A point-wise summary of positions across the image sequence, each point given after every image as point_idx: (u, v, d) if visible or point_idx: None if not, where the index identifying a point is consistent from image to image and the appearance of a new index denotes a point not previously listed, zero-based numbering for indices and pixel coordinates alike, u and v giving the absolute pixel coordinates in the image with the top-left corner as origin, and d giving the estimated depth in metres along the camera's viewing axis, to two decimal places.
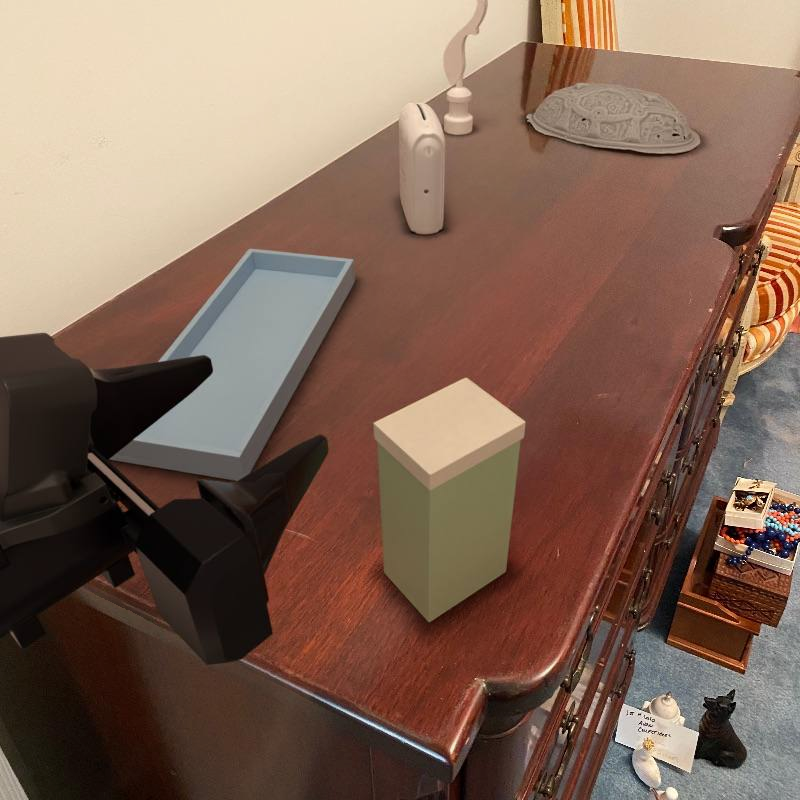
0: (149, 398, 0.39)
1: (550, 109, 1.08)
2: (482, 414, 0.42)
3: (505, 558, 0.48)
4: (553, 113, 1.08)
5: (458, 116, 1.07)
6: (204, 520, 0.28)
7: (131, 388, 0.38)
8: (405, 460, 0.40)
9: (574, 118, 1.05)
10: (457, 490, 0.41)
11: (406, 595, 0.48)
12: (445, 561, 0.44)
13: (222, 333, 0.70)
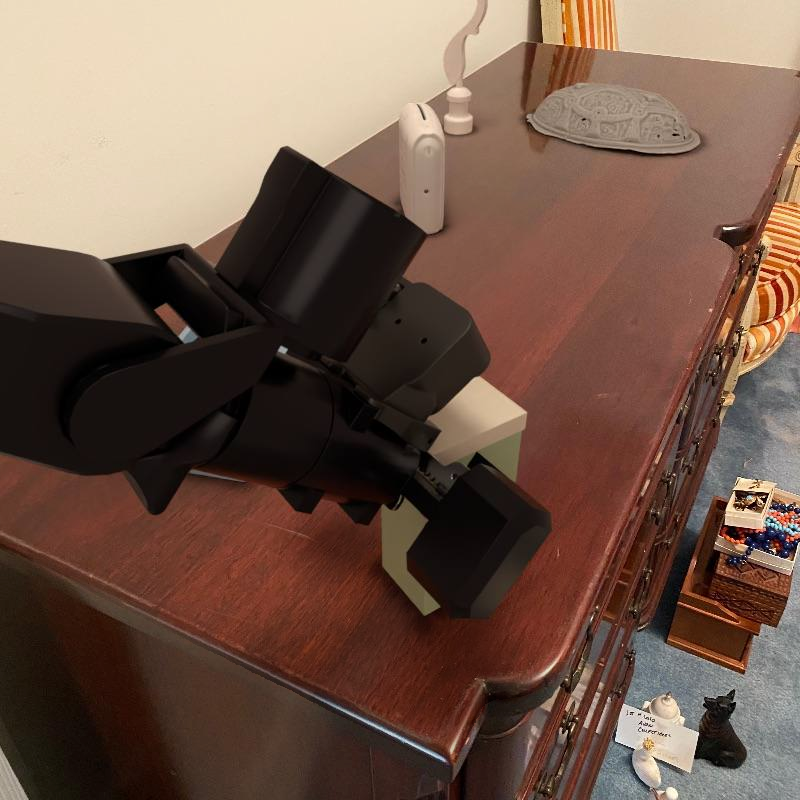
0: None
1: (550, 109, 1.08)
2: (484, 403, 0.42)
3: None
4: (553, 113, 1.08)
5: (458, 116, 1.07)
6: (519, 489, 0.34)
7: None
8: None
9: (574, 118, 1.05)
10: None
11: (403, 588, 0.48)
12: None
13: None
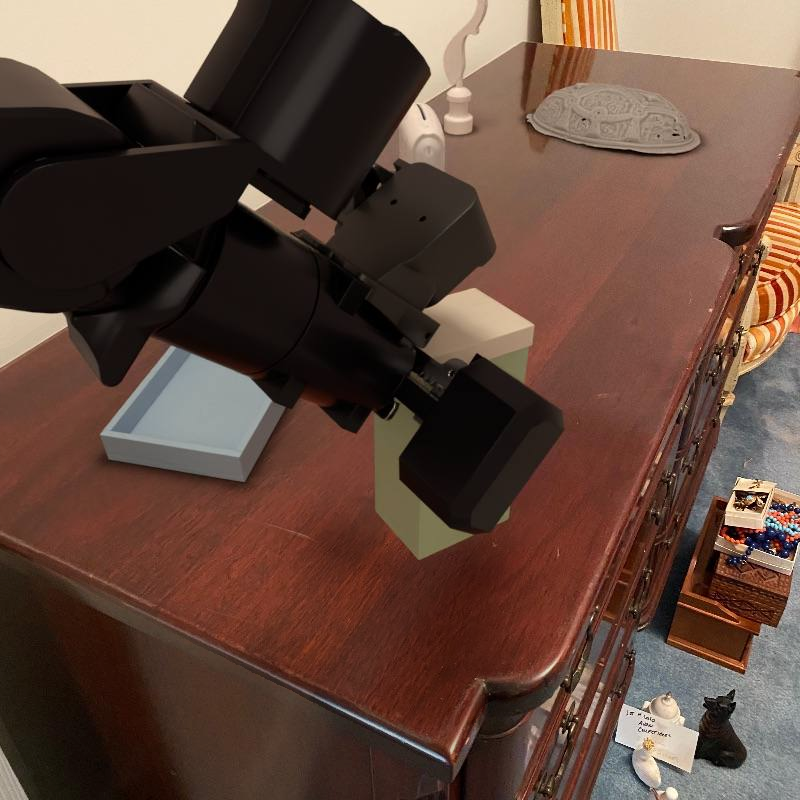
0: None
1: (550, 109, 1.08)
2: (488, 316, 0.38)
3: None
4: (553, 113, 1.08)
5: (458, 116, 1.07)
6: (527, 386, 0.31)
7: None
8: None
9: (574, 118, 1.05)
10: None
11: (396, 532, 0.43)
12: None
13: None
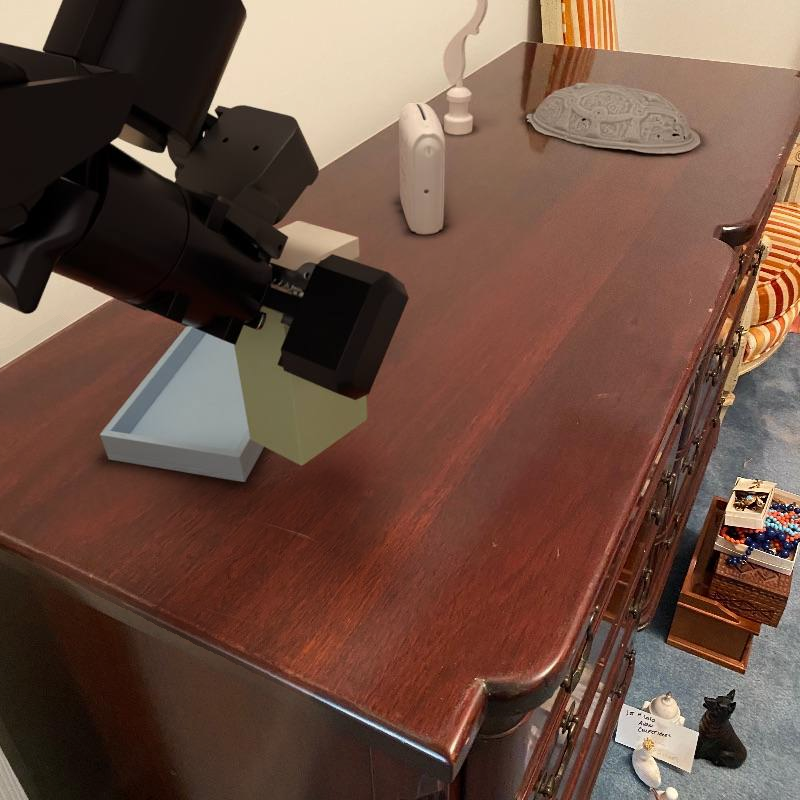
0: None
1: (550, 109, 1.08)
2: (318, 238, 0.45)
3: (364, 401, 0.51)
4: (553, 113, 1.08)
5: (458, 116, 1.07)
6: None
7: None
8: None
9: (574, 118, 1.05)
10: None
11: (275, 450, 0.49)
12: (307, 389, 0.45)
13: None
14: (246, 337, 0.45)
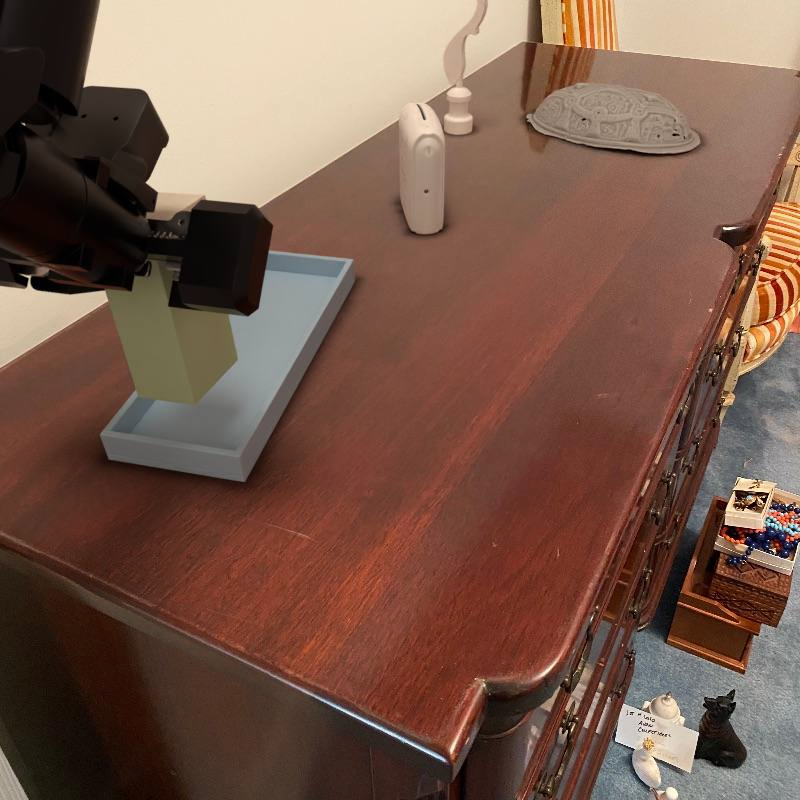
0: None
1: (551, 109, 1.08)
2: (169, 200, 0.51)
3: (233, 343, 0.57)
4: (553, 113, 1.08)
5: (458, 116, 1.07)
6: None
7: None
8: None
9: (574, 118, 1.05)
10: None
11: (166, 398, 0.54)
12: (188, 334, 0.52)
13: None
14: (123, 297, 0.50)
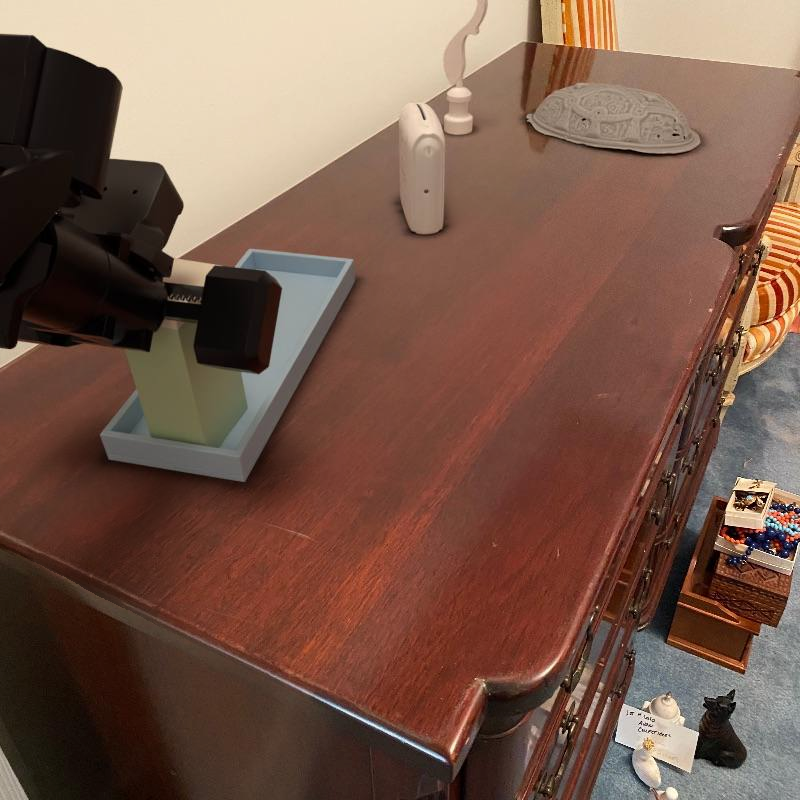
0: None
1: (550, 109, 1.08)
2: (189, 271, 0.53)
3: (244, 394, 0.60)
4: (553, 113, 1.08)
5: (458, 116, 1.07)
6: None
7: None
8: None
9: (574, 118, 1.05)
10: (195, 329, 0.52)
11: None
12: (205, 398, 0.55)
13: None
14: (144, 365, 0.53)
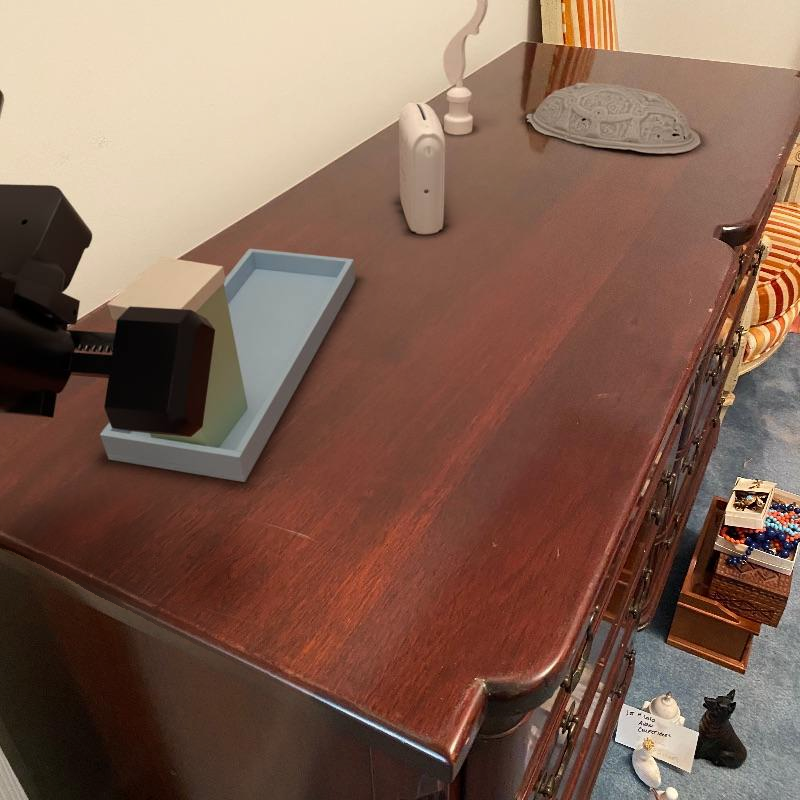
0: None
1: (550, 109, 1.08)
2: (188, 272, 0.53)
3: (244, 394, 0.60)
4: (553, 113, 1.08)
5: (458, 116, 1.07)
6: None
7: None
8: None
9: (574, 118, 1.05)
10: None
11: None
12: None
13: None
14: None
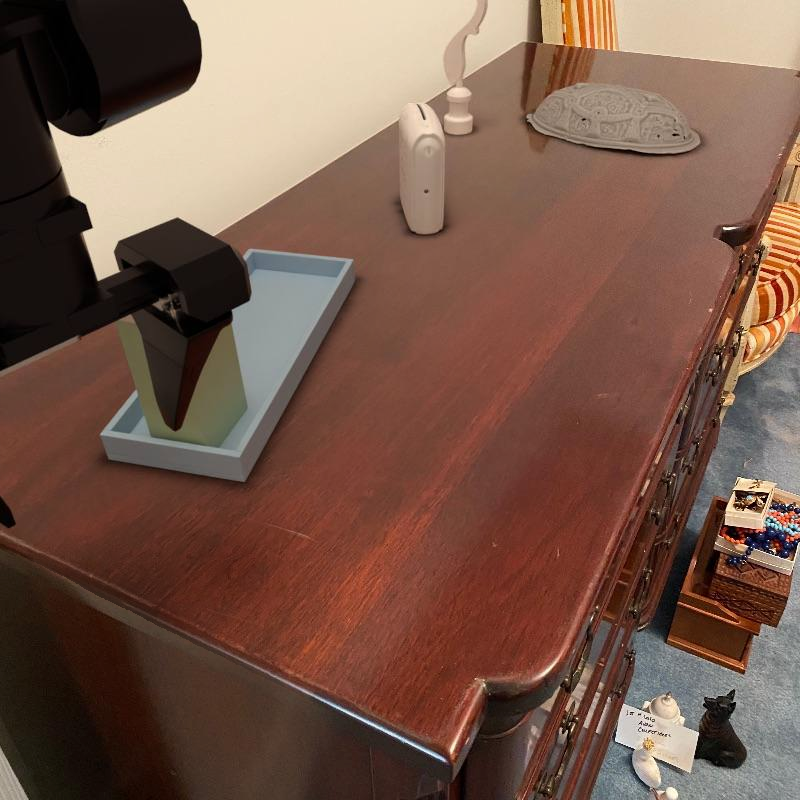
0: None
1: (551, 109, 1.08)
2: None
3: (244, 394, 0.60)
4: (553, 113, 1.08)
5: (458, 116, 1.07)
6: None
7: None
8: None
9: (574, 118, 1.05)
10: None
11: None
12: (204, 398, 0.55)
13: None
14: (144, 366, 0.53)
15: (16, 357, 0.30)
